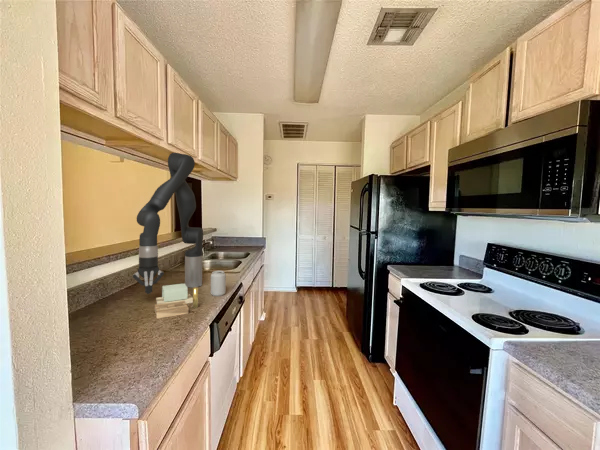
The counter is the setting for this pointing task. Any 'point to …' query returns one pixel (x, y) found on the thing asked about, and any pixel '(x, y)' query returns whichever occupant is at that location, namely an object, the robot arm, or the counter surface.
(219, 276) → the can
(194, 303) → the peg
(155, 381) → the counter surface
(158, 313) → the socket board
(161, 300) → the board
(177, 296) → the cover
